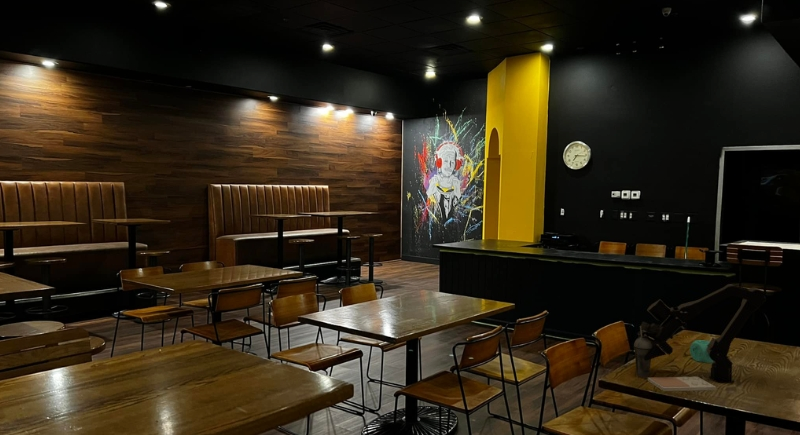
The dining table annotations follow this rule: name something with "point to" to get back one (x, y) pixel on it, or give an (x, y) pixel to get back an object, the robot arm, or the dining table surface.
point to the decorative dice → (700, 351)
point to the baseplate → (681, 383)
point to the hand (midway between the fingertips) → (639, 356)
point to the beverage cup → (642, 355)
